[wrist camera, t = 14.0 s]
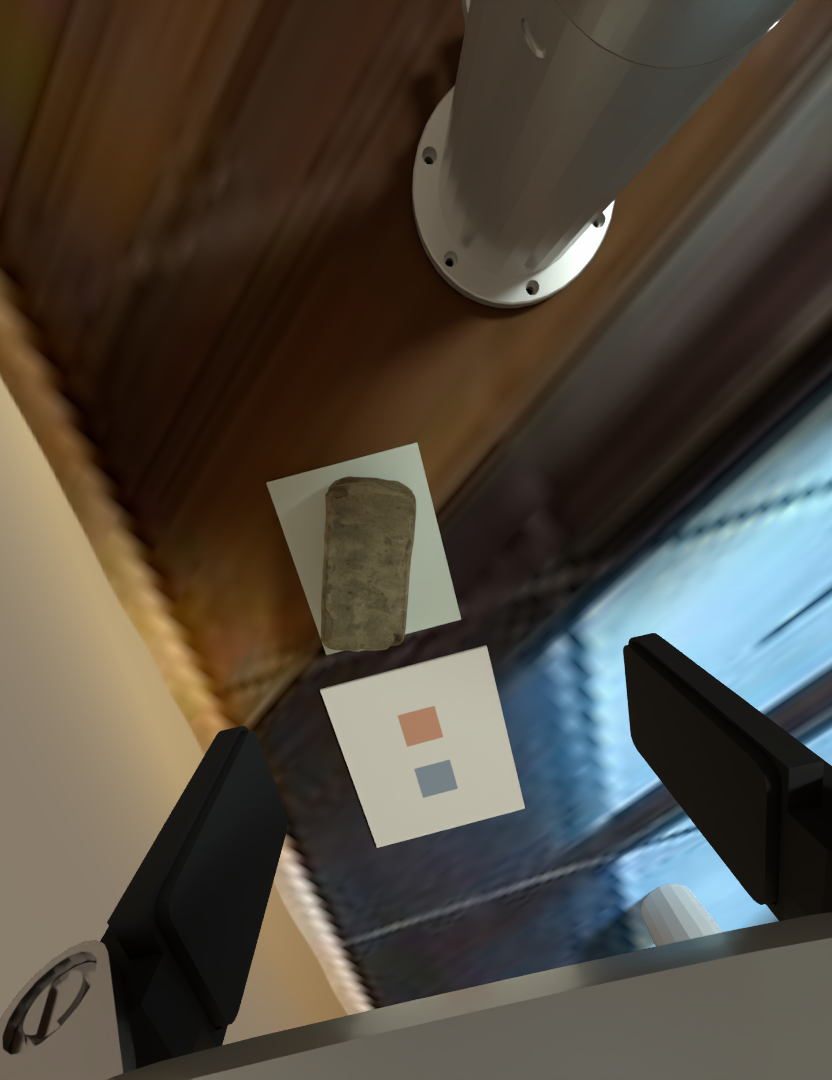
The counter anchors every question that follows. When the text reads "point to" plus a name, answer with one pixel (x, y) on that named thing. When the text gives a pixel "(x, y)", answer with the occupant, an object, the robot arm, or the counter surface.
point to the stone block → (366, 563)
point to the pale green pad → (305, 530)
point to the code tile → (426, 746)
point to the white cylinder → (676, 915)
